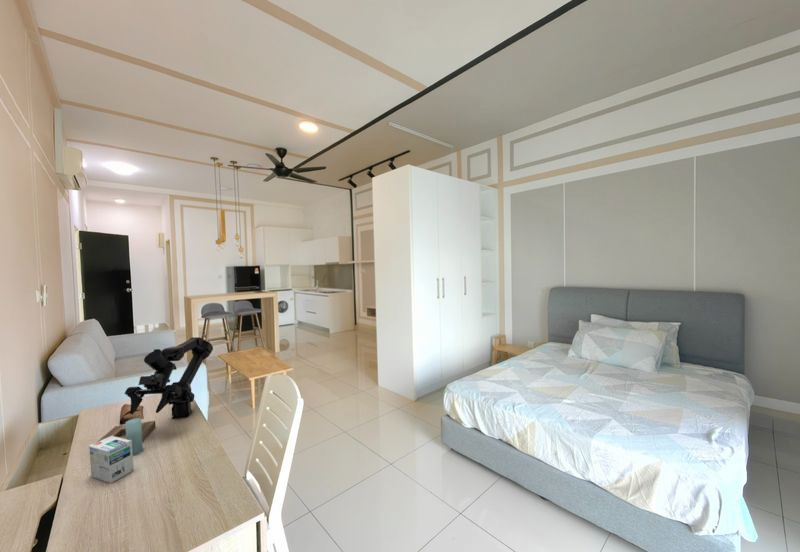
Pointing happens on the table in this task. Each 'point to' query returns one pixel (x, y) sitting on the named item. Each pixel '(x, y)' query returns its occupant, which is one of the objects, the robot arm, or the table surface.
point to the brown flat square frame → (121, 430)
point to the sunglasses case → (126, 414)
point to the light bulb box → (111, 458)
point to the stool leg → (134, 435)
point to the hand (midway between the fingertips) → (144, 413)
